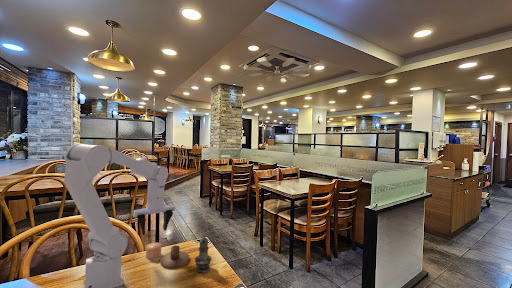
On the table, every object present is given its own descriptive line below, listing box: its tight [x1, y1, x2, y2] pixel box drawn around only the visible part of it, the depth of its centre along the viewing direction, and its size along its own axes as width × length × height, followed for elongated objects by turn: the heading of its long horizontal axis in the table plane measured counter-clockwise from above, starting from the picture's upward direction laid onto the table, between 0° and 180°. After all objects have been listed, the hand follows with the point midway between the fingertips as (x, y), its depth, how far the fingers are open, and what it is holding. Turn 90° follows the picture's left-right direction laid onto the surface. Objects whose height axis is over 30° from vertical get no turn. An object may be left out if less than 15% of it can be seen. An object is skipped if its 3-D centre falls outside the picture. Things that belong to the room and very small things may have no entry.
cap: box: [145, 242, 162, 260], centre depth 85 cm, size 5×5×4 cm
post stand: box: [159, 245, 190, 270], centre depth 82 cm, size 10×10×5 cm
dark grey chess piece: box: [194, 235, 213, 274], centre depth 78 cm, size 6×6×12 cm
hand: (154, 231), depth 84 cm, fingers open, 7 cm apart
